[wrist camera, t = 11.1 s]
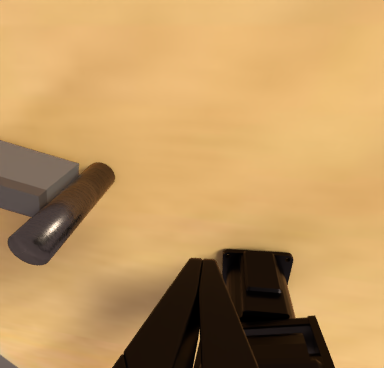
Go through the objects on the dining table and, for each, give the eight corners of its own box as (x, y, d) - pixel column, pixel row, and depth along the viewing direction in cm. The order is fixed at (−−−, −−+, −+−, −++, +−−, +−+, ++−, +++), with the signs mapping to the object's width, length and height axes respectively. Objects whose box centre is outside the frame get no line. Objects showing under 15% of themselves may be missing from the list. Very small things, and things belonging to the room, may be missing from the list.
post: (117, 187, 22) (55, 266, 14) (92, 186, 22) (18, 263, 14) (111, 162, 20) (41, 234, 13) (85, 162, 21) (0, 232, 13)
